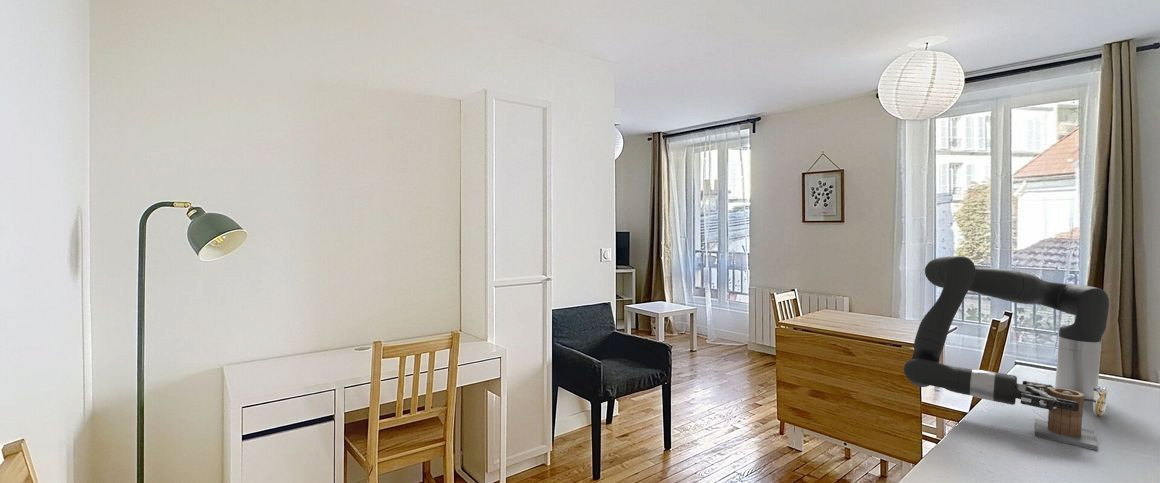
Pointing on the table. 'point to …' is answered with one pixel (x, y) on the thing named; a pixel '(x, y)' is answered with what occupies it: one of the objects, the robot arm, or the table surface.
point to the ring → (1100, 400)
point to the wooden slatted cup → (1066, 414)
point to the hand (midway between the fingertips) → (1077, 402)
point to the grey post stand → (1084, 440)
